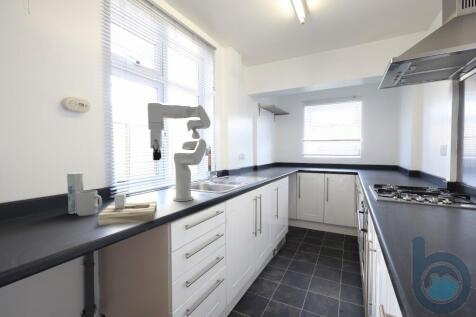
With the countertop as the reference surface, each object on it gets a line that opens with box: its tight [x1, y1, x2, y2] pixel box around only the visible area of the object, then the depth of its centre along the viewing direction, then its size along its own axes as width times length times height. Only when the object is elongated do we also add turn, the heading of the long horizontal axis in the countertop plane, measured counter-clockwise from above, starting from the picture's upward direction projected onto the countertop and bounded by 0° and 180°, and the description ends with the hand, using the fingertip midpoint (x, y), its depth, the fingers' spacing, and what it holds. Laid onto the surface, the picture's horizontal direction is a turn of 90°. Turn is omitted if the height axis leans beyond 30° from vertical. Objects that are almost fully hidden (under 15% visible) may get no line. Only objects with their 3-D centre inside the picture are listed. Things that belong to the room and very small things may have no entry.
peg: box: [114, 192, 127, 210], centre depth 102 cm, size 6×6×11 cm
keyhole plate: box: [97, 201, 158, 226], centre depth 103 cm, size 18×22×4 cm
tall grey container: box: [66, 171, 84, 215], centre depth 110 cm, size 6×6×20 cm
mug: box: [76, 189, 103, 217], centre depth 108 cm, size 12×8×11 cm
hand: (157, 159), depth 113 cm, fingers open, 9 cm apart
